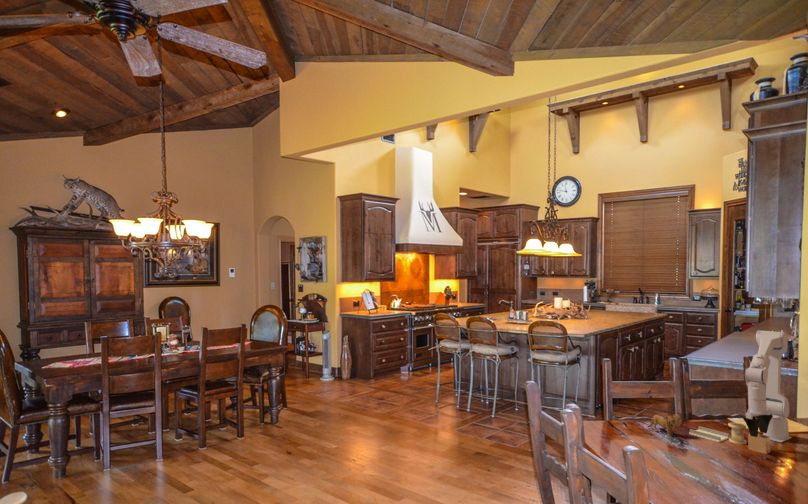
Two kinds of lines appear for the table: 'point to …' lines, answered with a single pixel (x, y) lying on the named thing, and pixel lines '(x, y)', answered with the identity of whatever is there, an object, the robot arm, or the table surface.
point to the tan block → (759, 443)
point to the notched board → (710, 434)
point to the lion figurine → (666, 422)
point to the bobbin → (737, 433)
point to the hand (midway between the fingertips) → (758, 434)
